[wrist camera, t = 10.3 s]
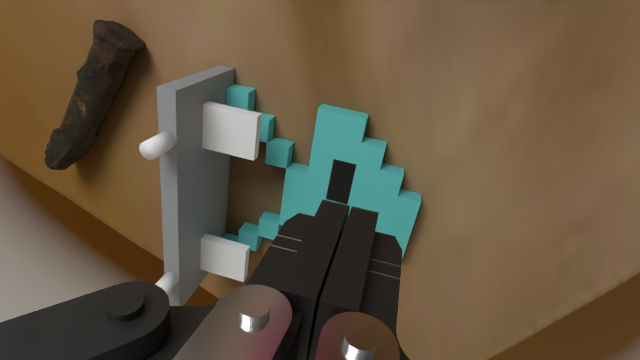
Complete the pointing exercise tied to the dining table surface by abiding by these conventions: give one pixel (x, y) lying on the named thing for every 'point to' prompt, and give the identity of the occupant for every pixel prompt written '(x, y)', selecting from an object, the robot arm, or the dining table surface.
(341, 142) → the alien figure
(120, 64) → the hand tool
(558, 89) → the dining table surface
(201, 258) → the cabinet side
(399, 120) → the dining table surface
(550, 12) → the dining table surface
